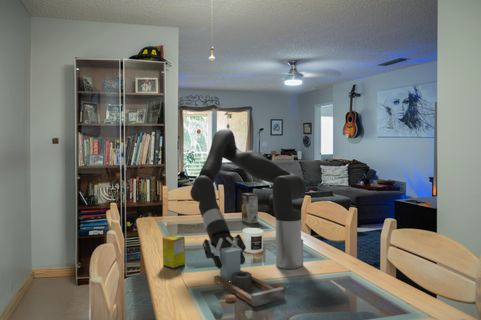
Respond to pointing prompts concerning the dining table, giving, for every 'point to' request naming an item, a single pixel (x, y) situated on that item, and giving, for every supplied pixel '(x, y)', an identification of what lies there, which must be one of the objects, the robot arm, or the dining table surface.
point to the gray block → (229, 262)
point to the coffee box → (249, 207)
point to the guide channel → (256, 298)
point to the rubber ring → (242, 279)
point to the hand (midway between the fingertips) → (231, 265)
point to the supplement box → (173, 251)
